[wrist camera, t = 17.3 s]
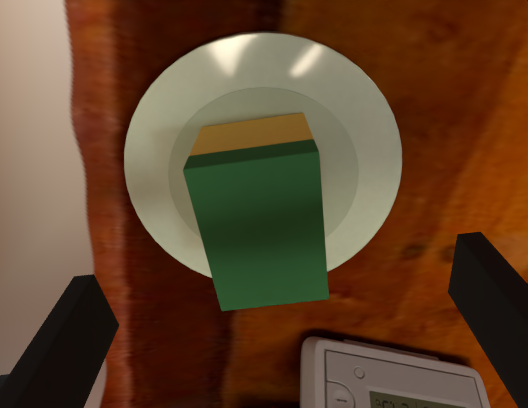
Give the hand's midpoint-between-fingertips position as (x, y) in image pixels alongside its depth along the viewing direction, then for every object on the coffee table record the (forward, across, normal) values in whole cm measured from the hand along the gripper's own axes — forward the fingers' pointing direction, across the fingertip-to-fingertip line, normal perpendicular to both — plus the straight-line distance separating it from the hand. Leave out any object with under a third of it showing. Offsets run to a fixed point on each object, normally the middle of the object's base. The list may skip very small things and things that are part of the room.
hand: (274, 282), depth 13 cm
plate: (+10, 0, 0) cm, 10 cm away
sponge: (+9, 0, 0) cm, 9 cm away
